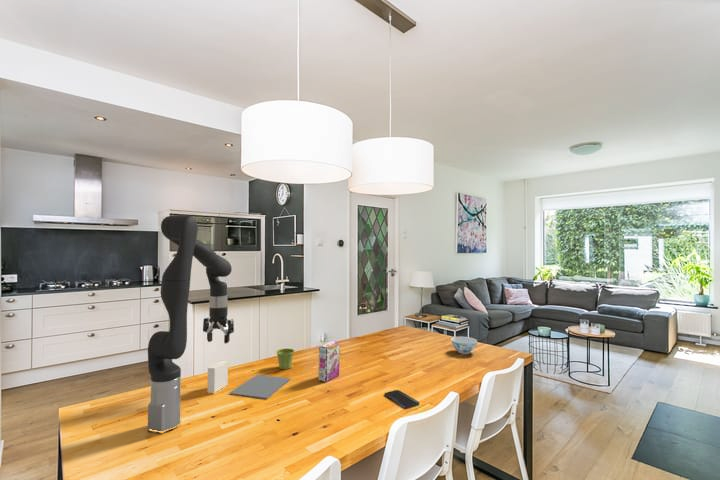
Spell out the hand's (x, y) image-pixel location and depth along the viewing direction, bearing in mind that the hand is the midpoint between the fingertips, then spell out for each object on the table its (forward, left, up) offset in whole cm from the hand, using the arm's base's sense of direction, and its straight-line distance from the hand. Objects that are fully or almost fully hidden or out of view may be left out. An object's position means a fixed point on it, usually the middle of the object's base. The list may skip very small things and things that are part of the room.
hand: (218, 342), depth 154 cm
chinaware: (+86, -107, -21) cm, 139 cm away
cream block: (0, 0, -21) cm, 21 cm away
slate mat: (+8, -17, -21) cm, 28 cm away
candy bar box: (+26, -43, -21) cm, 54 cm away
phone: (+12, -80, -21) cm, 84 cm away
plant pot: (+33, -16, -21) cm, 42 cm away
